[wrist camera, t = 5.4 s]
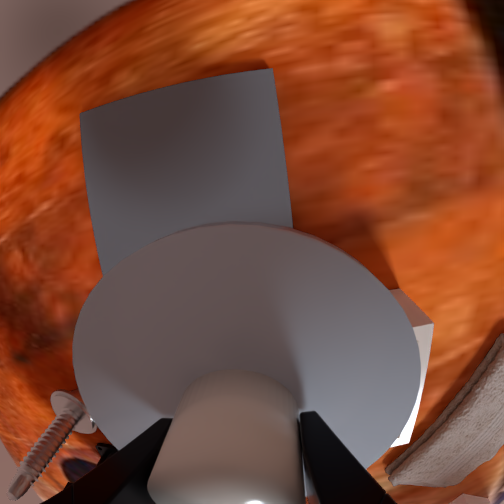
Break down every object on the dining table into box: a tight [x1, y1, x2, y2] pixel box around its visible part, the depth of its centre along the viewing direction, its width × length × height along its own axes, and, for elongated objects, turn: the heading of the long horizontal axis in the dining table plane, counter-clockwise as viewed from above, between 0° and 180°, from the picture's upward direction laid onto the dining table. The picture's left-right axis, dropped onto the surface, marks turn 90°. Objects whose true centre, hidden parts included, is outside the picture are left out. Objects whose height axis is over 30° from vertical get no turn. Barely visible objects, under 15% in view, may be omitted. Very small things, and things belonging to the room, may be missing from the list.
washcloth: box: [385, 334, 504, 488], centre depth 20 cm, size 12×18×3 cm, turn 155°
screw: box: [7, 389, 98, 501], centre depth 16 cm, size 13×5×5 cm
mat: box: [80, 68, 293, 276], centre depth 17 cm, size 12×12×1 cm
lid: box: [73, 221, 421, 504], centre depth 7 cm, size 10×10×4 cm
